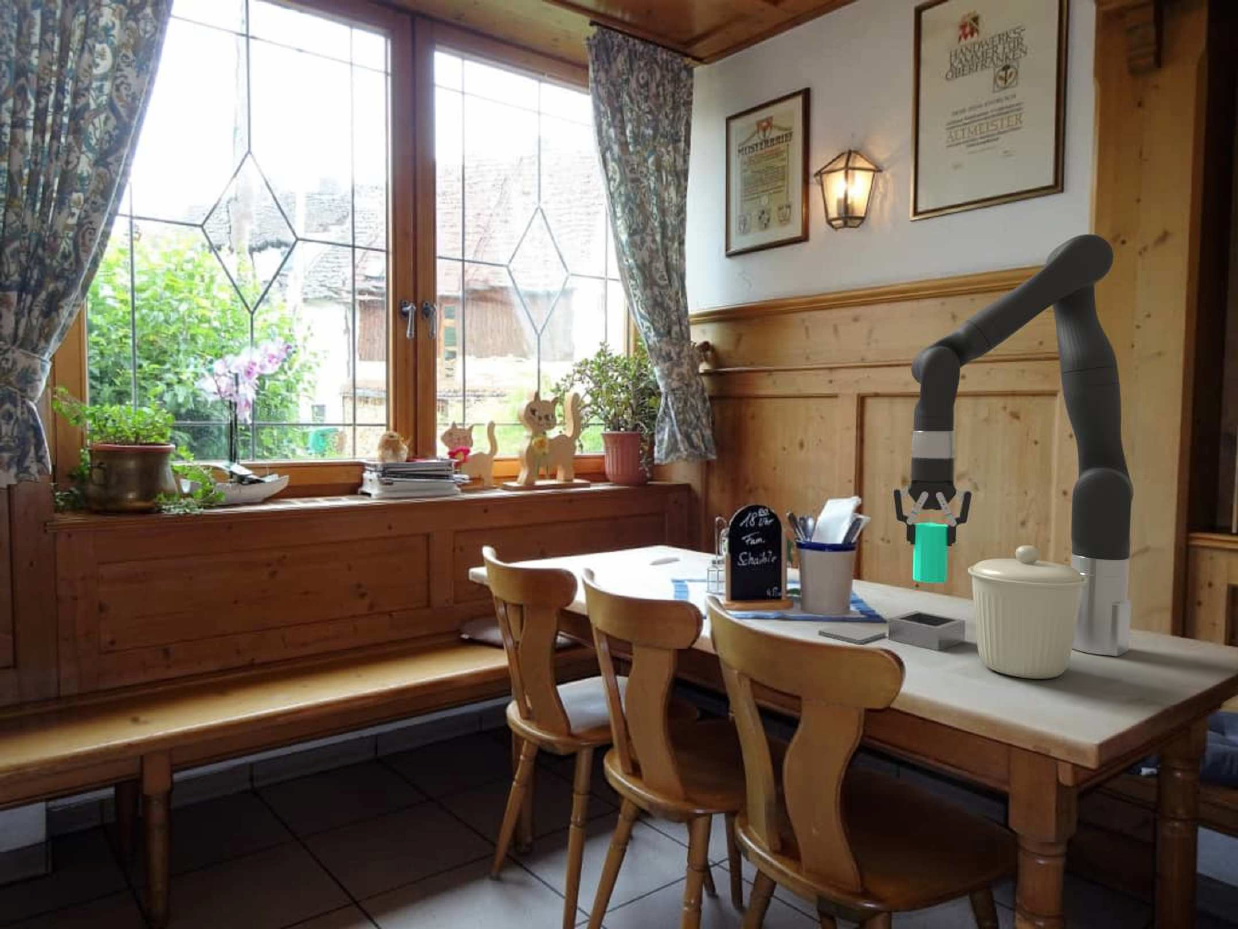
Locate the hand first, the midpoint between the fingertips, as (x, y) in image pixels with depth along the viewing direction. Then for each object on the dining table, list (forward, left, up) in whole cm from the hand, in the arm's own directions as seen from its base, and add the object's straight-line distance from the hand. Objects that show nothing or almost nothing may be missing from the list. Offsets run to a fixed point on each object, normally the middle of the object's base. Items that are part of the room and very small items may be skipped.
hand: (930, 544), depth 162 cm
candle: (0, 0, -7) cm, 7 cm away
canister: (-20, +5, -18) cm, 28 cm away
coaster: (+11, +8, -18) cm, 23 cm away
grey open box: (0, 0, -18) cm, 18 cm away
